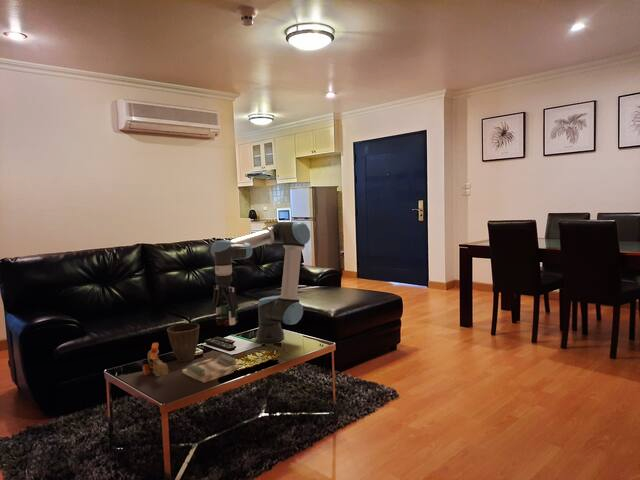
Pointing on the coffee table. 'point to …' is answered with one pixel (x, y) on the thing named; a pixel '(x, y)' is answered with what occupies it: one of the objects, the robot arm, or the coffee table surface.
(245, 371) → the coffee table surface
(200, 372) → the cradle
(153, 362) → the toy helicopter
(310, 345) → the coffee table surface
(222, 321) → the binoculars
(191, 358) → the plant pot
